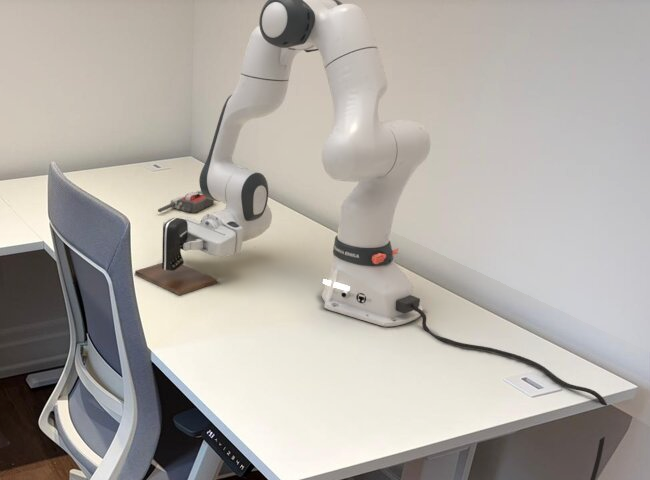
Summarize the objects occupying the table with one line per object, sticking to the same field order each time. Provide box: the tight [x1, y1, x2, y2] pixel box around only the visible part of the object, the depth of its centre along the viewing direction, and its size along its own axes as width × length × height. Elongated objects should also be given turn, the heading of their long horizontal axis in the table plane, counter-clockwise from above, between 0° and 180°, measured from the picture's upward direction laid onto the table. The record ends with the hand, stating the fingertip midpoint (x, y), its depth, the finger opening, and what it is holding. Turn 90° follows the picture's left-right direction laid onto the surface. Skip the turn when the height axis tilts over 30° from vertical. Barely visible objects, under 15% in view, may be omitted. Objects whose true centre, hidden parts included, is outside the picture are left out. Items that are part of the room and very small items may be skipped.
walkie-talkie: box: [157, 190, 215, 214], centre depth 248 cm, size 9×4×20 cm
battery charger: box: [161, 216, 188, 271], centre depth 199 cm, size 7×4×11 cm, turn 151°
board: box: [134, 262, 218, 296], centre depth 203 cm, size 16×12×1 cm
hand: (173, 243), depth 199 cm, fingers closed on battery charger, 5 cm apart
